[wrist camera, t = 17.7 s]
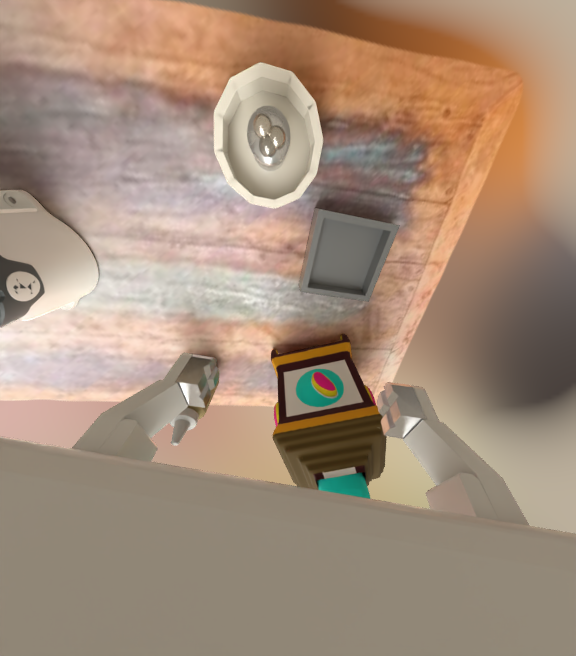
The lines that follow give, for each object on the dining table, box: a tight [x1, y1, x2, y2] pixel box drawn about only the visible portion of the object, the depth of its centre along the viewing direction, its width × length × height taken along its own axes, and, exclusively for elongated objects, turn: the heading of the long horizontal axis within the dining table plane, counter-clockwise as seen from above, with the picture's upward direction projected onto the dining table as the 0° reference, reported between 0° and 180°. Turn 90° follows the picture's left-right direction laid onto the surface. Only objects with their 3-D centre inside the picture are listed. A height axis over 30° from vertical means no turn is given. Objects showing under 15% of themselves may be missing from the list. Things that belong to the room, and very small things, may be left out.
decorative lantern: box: [271, 334, 386, 499], centre depth 39 cm, size 20×20×30 cm
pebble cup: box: [247, 106, 290, 171], centre depth 25 cm, size 4×4×9 cm
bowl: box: [214, 62, 323, 208], centre depth 27 cm, size 13×13×4 cm
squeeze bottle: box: [170, 365, 219, 445], centre depth 42 cm, size 8×8×18 cm
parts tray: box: [299, 208, 400, 302], centre depth 36 cm, size 13×13×4 cm
